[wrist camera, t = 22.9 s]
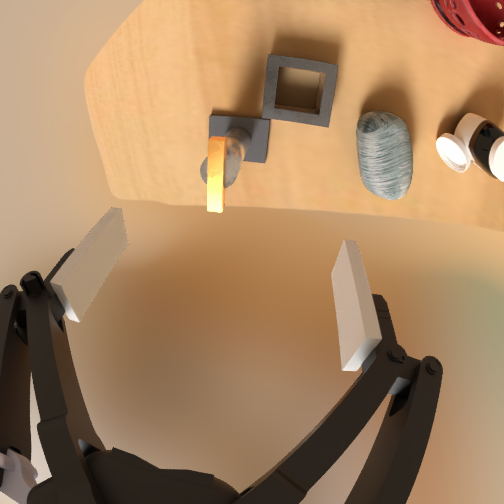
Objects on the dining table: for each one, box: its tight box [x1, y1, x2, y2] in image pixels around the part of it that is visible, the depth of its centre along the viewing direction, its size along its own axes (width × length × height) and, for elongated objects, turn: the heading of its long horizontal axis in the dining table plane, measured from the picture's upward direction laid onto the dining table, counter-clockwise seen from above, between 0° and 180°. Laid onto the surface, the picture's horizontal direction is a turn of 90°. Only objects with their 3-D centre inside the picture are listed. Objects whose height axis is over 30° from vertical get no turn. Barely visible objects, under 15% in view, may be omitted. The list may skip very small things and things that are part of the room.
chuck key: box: [200, 127, 251, 212], centre depth 34 cm, size 4×8×16 cm, turn 175°
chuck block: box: [262, 54, 338, 128], centre depth 33 cm, size 9×9×5 cm
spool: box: [356, 111, 413, 200], centre depth 36 cm, size 14×10×10 cm
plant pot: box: [431, 0, 504, 46], centre depth 15 cm, size 13×13×12 cm
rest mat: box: [209, 115, 270, 163], centre depth 40 cm, size 7×9×1 cm
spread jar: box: [436, 113, 504, 181], centre depth 30 cm, size 12×11×12 cm
